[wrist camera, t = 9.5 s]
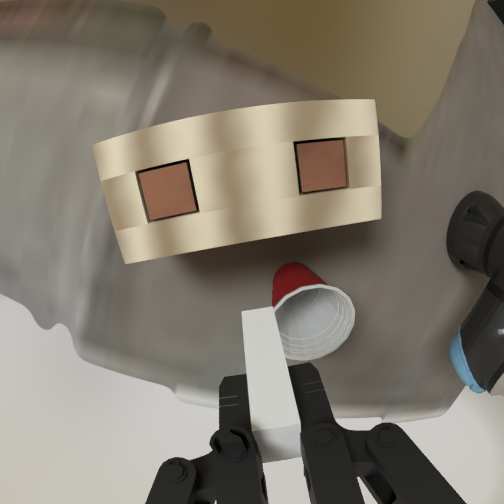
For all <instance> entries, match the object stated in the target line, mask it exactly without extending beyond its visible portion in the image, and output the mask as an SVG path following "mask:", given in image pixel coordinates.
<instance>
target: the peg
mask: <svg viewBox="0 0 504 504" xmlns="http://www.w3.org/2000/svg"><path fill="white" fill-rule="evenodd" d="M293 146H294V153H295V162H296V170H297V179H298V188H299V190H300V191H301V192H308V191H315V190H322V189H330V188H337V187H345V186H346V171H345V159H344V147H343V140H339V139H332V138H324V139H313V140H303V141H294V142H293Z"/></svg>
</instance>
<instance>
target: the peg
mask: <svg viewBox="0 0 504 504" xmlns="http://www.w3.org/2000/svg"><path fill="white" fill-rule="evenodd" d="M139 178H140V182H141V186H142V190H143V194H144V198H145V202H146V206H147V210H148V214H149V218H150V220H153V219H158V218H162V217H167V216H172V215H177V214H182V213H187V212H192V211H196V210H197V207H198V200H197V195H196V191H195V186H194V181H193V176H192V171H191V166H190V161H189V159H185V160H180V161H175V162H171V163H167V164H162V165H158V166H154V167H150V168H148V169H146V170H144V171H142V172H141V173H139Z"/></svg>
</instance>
